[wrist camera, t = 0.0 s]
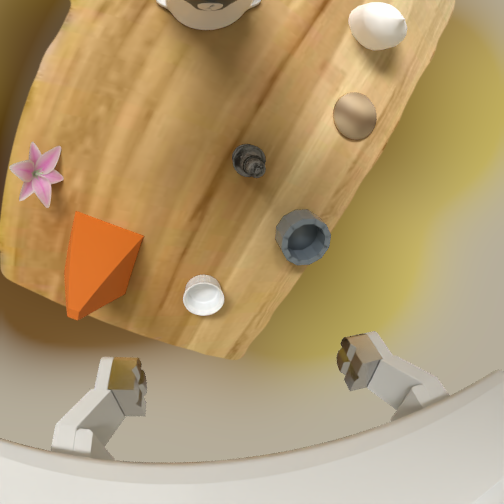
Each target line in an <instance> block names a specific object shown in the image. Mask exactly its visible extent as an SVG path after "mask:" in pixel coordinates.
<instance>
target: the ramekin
mask: <svg viewBox="0 0 504 504" xmlns="http://www.w3.org/2000/svg"><path fill="white" fill-rule="evenodd" d="M183 302H184V305H185V307H186V308H187V310H189V311H190V312H191V313H193V314H196V315H201V316H206V315H211V314H214V313H216V312H217V311H218V310H220V309H221V307H222V306H223V304H224V294H223V292H222V290H221V287H220V284H219V282H218V281H217V280H216V279H215V278H213V277H211V276H209V275H198V276H195V277H193V278H192V279H190V280H189V282H188V283H187V285H186V289H185V293H184V296H183Z"/></svg>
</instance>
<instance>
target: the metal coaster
mask: <svg viewBox="0 0 504 504" xmlns="http://www.w3.org/2000/svg"><path fill="white" fill-rule="evenodd" d="M333 118H334V122H335V125H336V127H337V129H338V130H339V132H340V133H341V134H343V135H344V136H346V137H347V138H350V139H362V138H365V137H366V136H368V135H369V134H370V133H371V132H372V131H373V129H374V127H375V124H376V110H375V107H374V105H373V103H372V102H371V100H370V99H369V98H368V97H366V96H365V95H363V94H360V93H347V94H345V95H343V96H342V97H341V98H340V99H339V100H338V101H337V103H336V104H335V107H334V112H333Z"/></svg>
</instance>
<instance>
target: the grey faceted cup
mask: <svg viewBox="0 0 504 504" xmlns="http://www.w3.org/2000/svg"><path fill="white" fill-rule="evenodd" d="M330 238H331V234H330V232H329V230H328V227H327V225H326V224H325V223H324V222H323V221H322V220H321V219H320V218H319V217H318V216H317V215H316V214H314V213H312V212H311V211H309V210H294V211H292V212H290V213H288V214H287V215H285V216H283V218H282V219H281V221H280V222H279V224H278V225H277V227H276V236H275V240H276V241H277V243H278V245H279V247H280V249H281V250H282V252H283V254H284V256H285V257H286V259H287V260H288V261H290V262H292V263H294V264H296V265H309V264H312V263H313V262H315V261H317V260H318V259H320V258H322V256H323V255H324V254H325V252H326V251H327V250H328V248H329V244H330Z"/></svg>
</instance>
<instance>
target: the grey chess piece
mask: <svg viewBox="0 0 504 504" xmlns="http://www.w3.org/2000/svg"><path fill="white" fill-rule="evenodd" d="M232 160H233V166H234V168H235V170H236V171H237V173H239V174H240V175H242V176H245V177H254V178H259V177H261V176H263V174H264V173H265V170H266V168H265V162H266V159H265V155H264V153H263V151H262V150H261V149H260V148H258V147H256V146H253V145H250V144H244V145H241V146H239V147H237V148H236V149H235V151H234V153H233V156H232Z"/></svg>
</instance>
